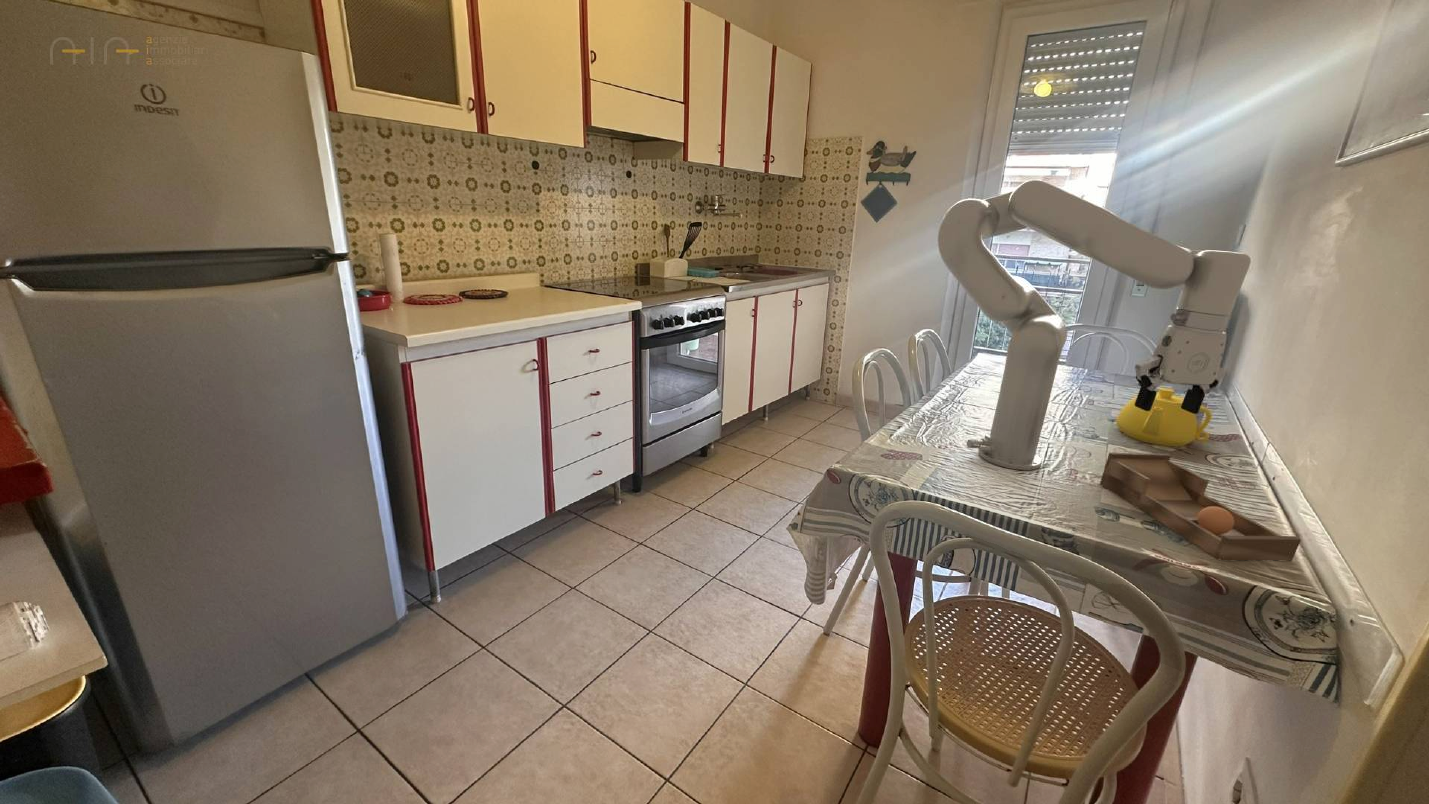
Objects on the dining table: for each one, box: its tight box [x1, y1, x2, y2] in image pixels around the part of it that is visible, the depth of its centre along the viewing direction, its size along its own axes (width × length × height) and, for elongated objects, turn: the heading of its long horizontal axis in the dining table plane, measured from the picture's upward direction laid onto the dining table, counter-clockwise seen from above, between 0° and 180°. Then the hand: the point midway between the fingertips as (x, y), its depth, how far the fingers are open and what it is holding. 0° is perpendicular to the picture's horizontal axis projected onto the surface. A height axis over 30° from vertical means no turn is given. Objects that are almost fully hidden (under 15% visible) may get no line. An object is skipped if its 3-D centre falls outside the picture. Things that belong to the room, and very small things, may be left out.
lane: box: [1099, 452, 1302, 561], centre depth 102 cm, size 27×13×7 cm, turn 4°
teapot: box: [1115, 387, 1213, 448], centre depth 140 cm, size 20×19×13 cm
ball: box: [1197, 506, 1234, 535], centre depth 97 cm, size 5×5×5 cm
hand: (1165, 409), depth 107 cm, fingers open, 9 cm apart
